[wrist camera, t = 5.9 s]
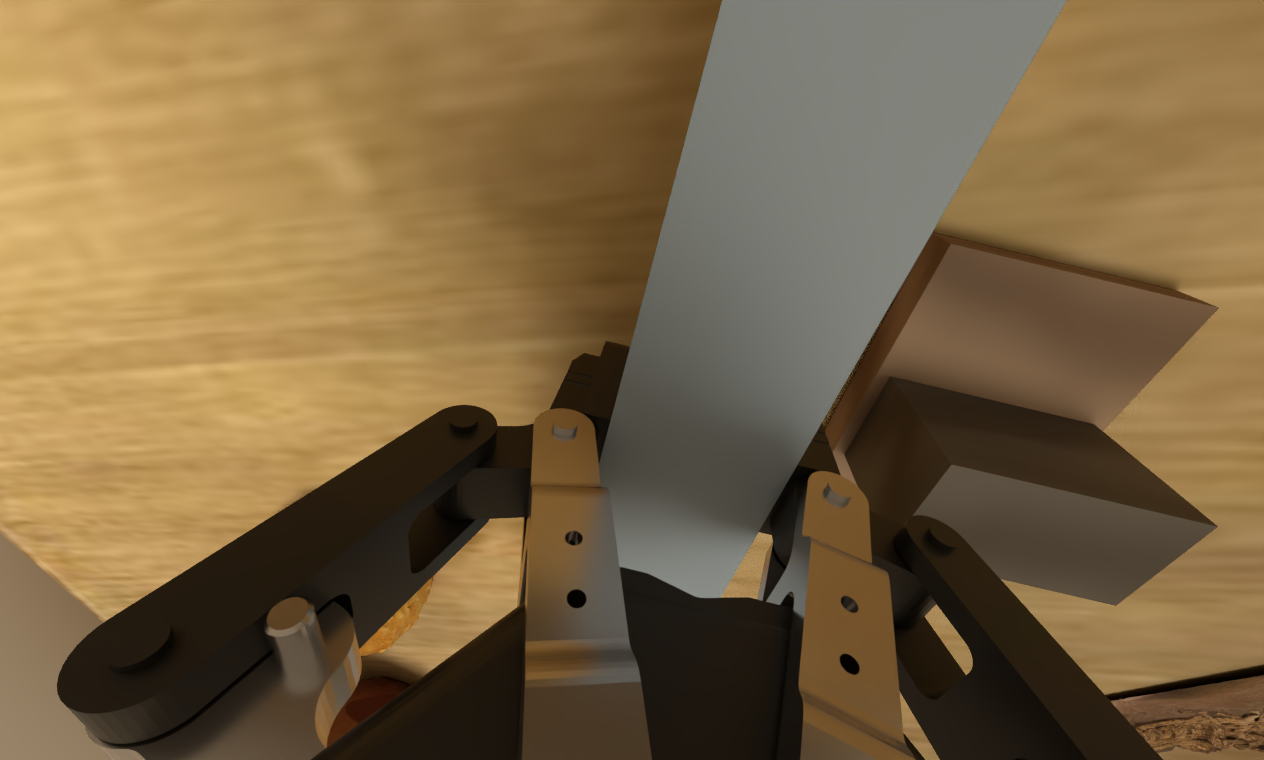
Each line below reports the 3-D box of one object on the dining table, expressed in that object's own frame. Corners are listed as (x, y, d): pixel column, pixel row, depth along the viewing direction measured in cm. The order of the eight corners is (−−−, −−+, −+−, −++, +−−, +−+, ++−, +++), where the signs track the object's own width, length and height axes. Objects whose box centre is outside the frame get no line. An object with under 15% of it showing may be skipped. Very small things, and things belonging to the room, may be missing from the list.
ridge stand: (931, 232, 16) (1050, 302, 11) (1179, 291, 17) (1421, 390, 11) (783, 506, 24) (810, 630, 18) (955, 546, 24) (1033, 681, 18)
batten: (763, -150, 9) (820, -369, 5) (968, -90, 9) (1213, -251, 5) (572, 565, 21) (539, 689, 16) (661, 588, 21) (651, 717, 16)
